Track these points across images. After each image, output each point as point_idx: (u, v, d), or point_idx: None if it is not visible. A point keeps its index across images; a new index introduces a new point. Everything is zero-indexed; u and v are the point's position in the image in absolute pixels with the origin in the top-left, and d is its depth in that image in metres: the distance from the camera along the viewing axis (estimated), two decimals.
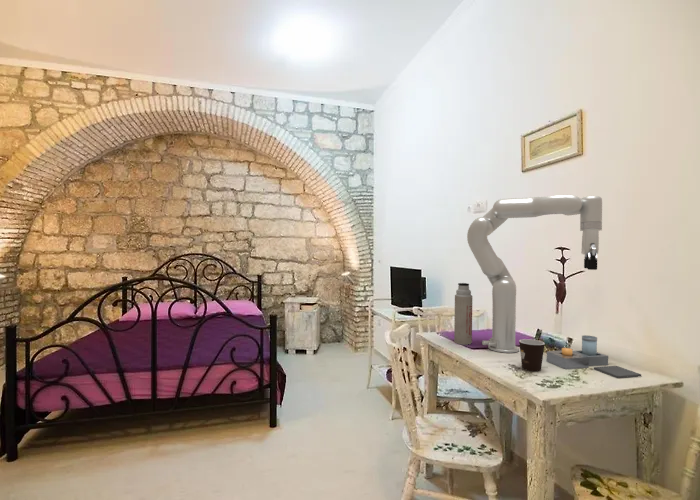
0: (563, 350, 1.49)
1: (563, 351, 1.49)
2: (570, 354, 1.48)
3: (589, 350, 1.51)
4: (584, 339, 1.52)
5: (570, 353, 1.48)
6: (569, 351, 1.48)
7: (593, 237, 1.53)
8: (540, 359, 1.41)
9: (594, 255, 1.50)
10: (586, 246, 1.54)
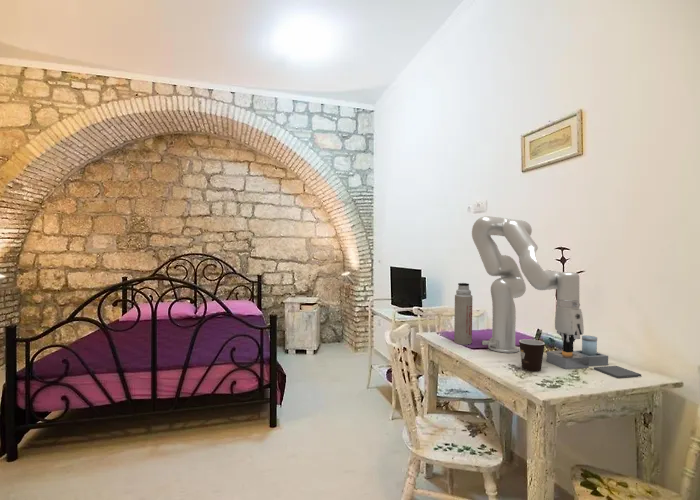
0: (563, 353, 1.49)
1: (563, 354, 1.49)
2: None
3: (589, 350, 1.51)
4: (584, 339, 1.52)
5: None
6: (569, 354, 1.48)
7: None
8: (540, 359, 1.41)
9: None
10: None
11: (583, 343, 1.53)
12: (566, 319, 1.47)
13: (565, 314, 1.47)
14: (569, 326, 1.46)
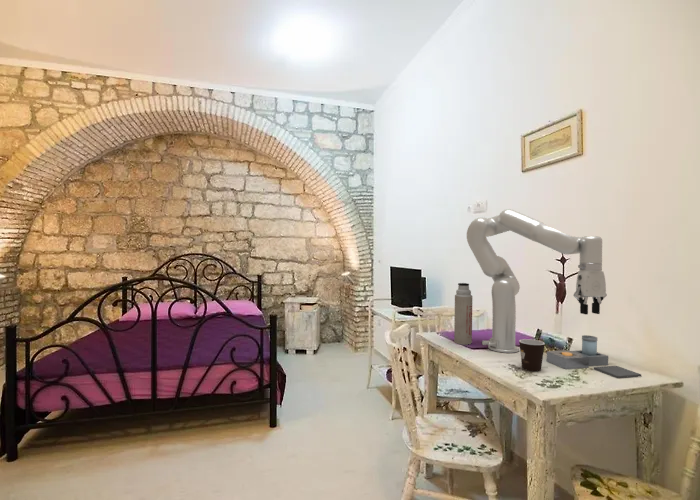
0: (563, 354, 1.49)
1: None
2: None
3: (589, 350, 1.51)
4: (584, 339, 1.52)
5: None
6: (569, 355, 1.48)
7: None
8: (540, 359, 1.41)
9: None
10: None
11: (583, 343, 1.52)
12: None
13: None
14: None
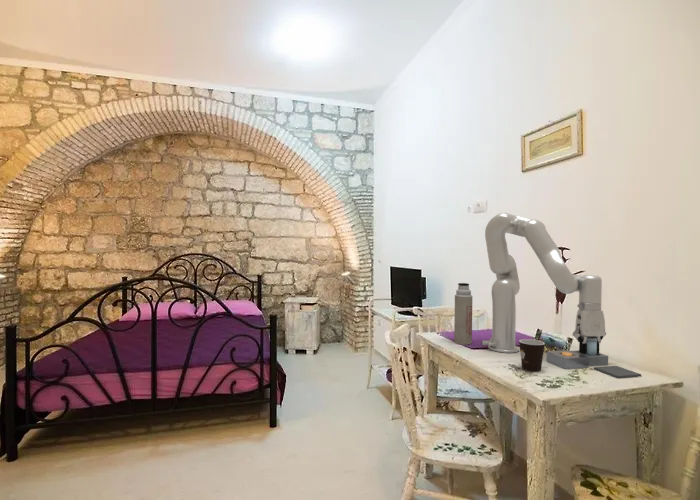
0: (563, 354, 1.49)
1: None
2: None
3: (589, 350, 1.51)
4: None
5: None
6: (569, 355, 1.48)
7: None
8: (540, 359, 1.41)
9: None
10: None
11: None
12: None
13: None
14: None
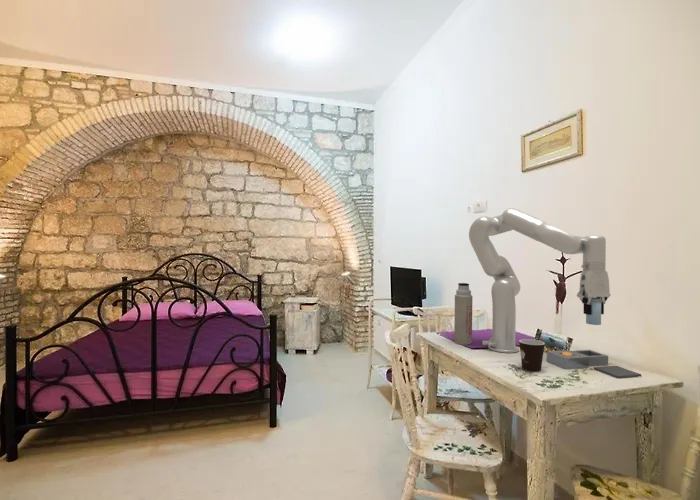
0: (563, 354, 1.49)
1: None
2: None
3: (593, 311, 1.49)
4: None
5: None
6: (569, 355, 1.48)
7: None
8: (540, 359, 1.41)
9: None
10: None
11: None
12: None
13: None
14: None
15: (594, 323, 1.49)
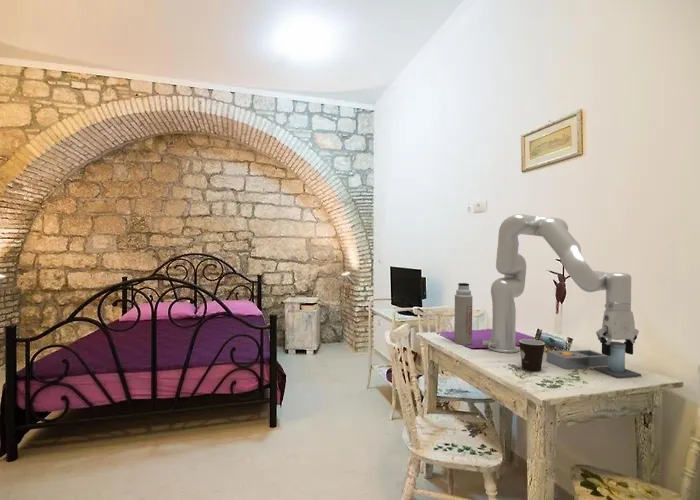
0: (563, 354, 1.49)
1: None
2: None
3: (616, 358, 1.38)
4: (611, 345, 1.39)
5: None
6: (569, 355, 1.48)
7: None
8: (540, 359, 1.41)
9: None
10: None
11: None
12: None
13: None
14: None
15: (617, 371, 1.38)
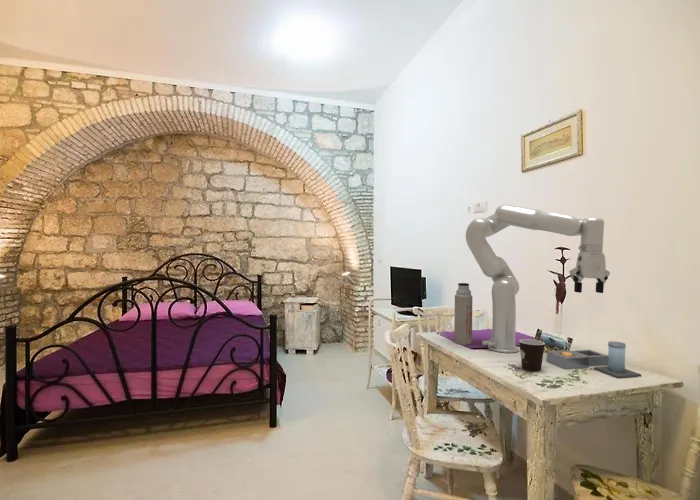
0: (563, 354, 1.49)
1: None
2: None
3: (616, 358, 1.38)
4: (611, 345, 1.39)
5: None
6: (569, 355, 1.48)
7: None
8: (540, 359, 1.41)
9: None
10: None
11: (610, 350, 1.40)
12: None
13: None
14: None
15: (617, 371, 1.38)
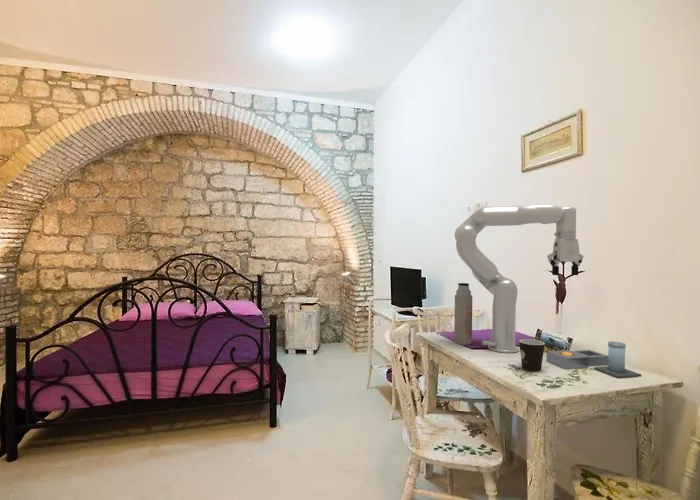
0: (563, 354, 1.49)
1: None
2: None
3: (616, 358, 1.38)
4: (611, 345, 1.39)
5: None
6: (569, 355, 1.48)
7: None
8: (540, 359, 1.41)
9: None
10: None
11: (610, 350, 1.40)
12: None
13: None
14: None
15: (617, 371, 1.38)
